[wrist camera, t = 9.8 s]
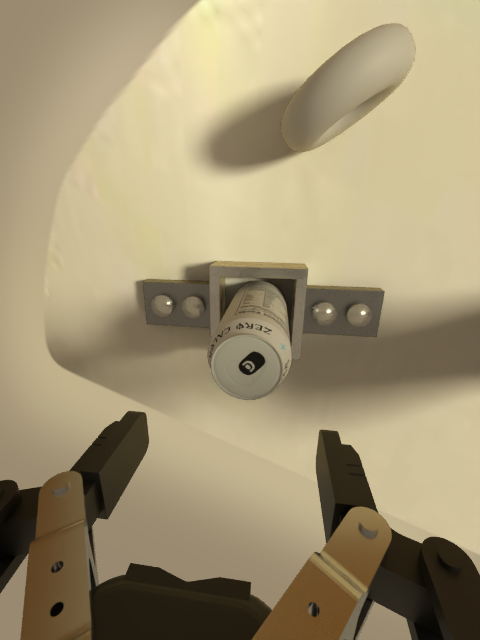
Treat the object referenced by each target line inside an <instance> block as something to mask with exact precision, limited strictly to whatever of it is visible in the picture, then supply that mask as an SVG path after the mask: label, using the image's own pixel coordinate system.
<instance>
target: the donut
mask: <svg viewBox="0 0 480 640" xmlns="http://www.w3.org/2000/svg"><path fill="white" fill-rule="evenodd" d="M415 52H416V47H415V43H414V39H413V36H412V34H411V33H410V31H409V30H408V28H407V27H405V26H403V25H402V24H386V25H381V26H378V27H376V28H374V29H372V30H370V31H368V32H366V33H364V34H362V35H360V36H359V37H357V38H356V39H354V40H353V41H351V42H350V43H348V44H347V45H346V46H344V47H343V48H341V49H340V50H339V51H338V52H337V53H335V54H334V55H333V56H332V57H331V58H329V59H328V60H327V61H326V62H325V63H324V64H322V65H321V66H320V67H319V68H318V69H317V70H316V71H315V72H314V73H313V74H312V75H311V76H310V77H309V78H308V79H307V80H306V82H305V83H304V84H303V85H302V86H301V87H300V89H299V90H298V91H297V92H296V93H295V95H294V96H293V98H292V100H291V101H290V103H289V104H288V106H287V108H286V109H285V112H284V115H283V118H282V123H281V134H282V137H283V139H284V141H285V142H286V144H287V145H288V146H289V147H290V148H291V149H293V150H294V151H297V152H305V151H310V150H313V149H315V148H317V147H319V146H321V145H323V144H324V143H326V142H328V141H329V140H331V139H333V138H334V137H336V136H337V135H339V134H340V133H342V132H343V131H345V130H346V129H348V128H349V127H351V126H352V125H353V124H355V123H356V122H357V121H359V120H360V119H361V118H363V117H364V116H365V115H367V114H368V113H369V112H370V111H372V110H373V109H374V108H375V107H377V106H378V105H379V104H380V103H381V102H382V101H383V100H385V99H386V98H387V97H388V96H389V95H390V94H391V93H392V92H394V90H395V89H396V88H397V87H398V86H399V85H400V84H401V83H402V82H403V80H404V79H405V77H406V76H407V74H408V73H409V71H410V70H411V68H412V65H413V62H414V60H415Z"/></svg>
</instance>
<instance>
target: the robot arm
mask: <svg viewBox="0 0 480 640" xmlns="http://www.w3.org/2000/svg"><path fill="white" fill-rule="evenodd" d="M148 444H149V436H148V426H147V418H146V414H145V413H144V412H135V411H128V412H127V413H126V414H125V415H124V417H123V418H122V419H121V420H120V421H115V422H114V423H112V424H110V425H109V426H108V427H106V428H105V429H104V430H103V431H102V432H101V434H100V435H99V436H98V438H97V439H96V440H95V441H94V442H93V443H92V445H91V446H90V447H89V448H88V449H87V450H86V452H85V453H84V454H83V455H82V456H81V458H80V459H79V460H78V461H77V462H76V464H75V465H74V466H73V467H72V468H71V469H70V471H67V472H62V473H59V474H57V475H55V476H54V477H52V478H50V479H49V480H48V481H47V482H46V483H45V484H44V485H43V486H42V487H36V488H30V489H24V490H19V488H18V485H17V483H16V482H15V481H12V480H3V481H0V593H1V592H2V590H3V589H4V587H5V586H6V584H7V583H8V582H9V580H10V579H11V577H12V576H13V574H14V573H15V572H16V570H17V569H18V567H19V566H20V564H21V563H22V561H23V560H24V559H25V557H26V556H27V554H28V553H29V556H28V567H27V576H26V586H25V597H24V608H23V618H22V630H21V639H20V640H357V639H358V637H359V635H360V633H361V630H362V628H363V626H364V624H365V622H366V620H367V617H368V615H369V613H370V611H371V608H372V606H373V604H374V602H376V603H378V604H380V605H382V606H384V607H386V608H388V609H390V610H392V611H394V612H395V613H397V614H399V615H401V616H403V617H405V618H406V619H407V622H408V627H409V630H410V634H411V637H412V640H480V575H479V573H478V571H477V569H476V567H475V565H474V563H473V562H472V560H471V559H470V558H469V556H468V555H467V554H466V553H465V552H464V551H463V550H461V548H459V547H458V546H457V545H455V544H454V543H452V542H450V541H448V540H446V539H444V538H440V537H429V538H427V539H425V540H424V541H423V543H419V542H417V541H414V540H412V539H410V538H407V537H405V536H403V535H401V534H399V533H397V532H395V531H394V530H393V529H391V528H390V526H389V524H388V523H387V521H386V520H385V519H384V518H383V517H382V516H381V515H380V514H379V513H378V511H377V508H376V505H375V502H374V499H373V496H372V493H371V490H370V487H369V484H368V481H367V478H366V477H365V472H364V469H363V468H362V463H361V460H360V457H359V455H358V453H357V452H356V451H355V450H354V449H353V447H352V446H351V445H345V444H341V441H340V437H339V434H338V432H337V431H329V430H320V431H319V438H318V446H317V454H316V474H317V481H318V488H319V495H320V502H321V509H322V516H323V523H324V530H325V537H326V545H325V547H324V548H323V550H322V551H321V552H320V553H317V552H314V553H313V554H312V555H311V556H310V558H309V559H308V560H307V562H306V563H305V565H304V566H303V567H302V569H301V570H300V572H299V573H298V574H297V576H296V577H295V579H294V580H293V582H292V583H291V584H290V586H289V587H288V589H287V590H286V592H285V593H284V594H283V596H282V597H281V599H280V600H279V601H278V603H277V604H276V606H275V607H274V609H273V610H271V608H270V607H268V606H267V605H266V604H265V603H264V602H263V601H261V600H260V599H259V598H257V597H255V596H253V595H251V594H250V590H251V582H246V581H240V580H234V579H227V578H221V577H219V578H212V579H205V580H198V581H191V582H186V581H184V580H182V579H180V578H178V577H176V576H174V575H172V574H170V573H168V572H166V571H164V570H163V569H161V568H158V567H152V566H146V565H139V564H133V563H131V564H130V566H129V568H128V570H127V572H126V575H121V576H118V577H115V578H112V579H110V580H107V581H105V582H104V583H101V584H100V585H99V580H98V574H97V564H96V554H95V544H94V534H93V527H92V525H93V524H94V522H95V521H96V519H97V518H101V519H108V518H109V516H110V514H111V513H112V511H113V509H114V507H115V506H116V504H117V502H118V501H119V499H120V497H121V495H122V493H123V492H124V490H125V488H126V487H127V485H128V483H129V481H130V480H131V478H132V476H133V474H134V473H135V471H136V469H137V467H138V466H139V464H140V462H141V461H142V459H143V457H144V455H145V453H146V451H147V448H148Z"/></svg>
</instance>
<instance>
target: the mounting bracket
mask: <svg viewBox="0 0 480 640" xmlns="http://www.w3.org/2000/svg"><path fill="white" fill-rule="evenodd" d="M307 276H308V268H307V266H306V265H305V264H295V263H263V262H231V261H216V262H214V263H213V264H211V265H210V266H209V277H210V281H186V280H161V279H147V280H145V281H143V289H144V300H145V310H146V320H147V324H154V325H172V326H190V327H207V328H211V338H212V336H213V334H214V332H215V330H216V329H217V327H218V325H219V323H220V321H221V320H222V318H223V316H224V314H225V277H252V278H279V279H294V289H293V303H292V316H291V329H290V345H291V356H292V359H295V360H300V354H301V343H302V333H314V334H331V335H349V336H367V337H377V331H378V326H379V320H380V314H381V309H382V303H383V298H384V292H385V291H383V290H382V289H380V288H366V287H340V286H315V285H307Z"/></svg>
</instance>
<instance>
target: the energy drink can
mask: <svg viewBox="0 0 480 640" xmlns="http://www.w3.org/2000/svg"><path fill="white" fill-rule="evenodd" d="M291 360H292V356H291V345H290V335H289V325H288V315H287V305H286V300H285V297H284V296H283V294H282V292H281V291H280V290H279V289H278V288H277V287H276V286H274V285H272V284H271V283H268V282H264V281H254V282H250V283H247V284H246V285H244V286H242V287H241V288H240V289H239V290H238V291H237V293H236V294H235V296H234V298H233V300H232V302H231V303H230V305H229V307H228V309H227V311H226V312H225V314H224V316H223V318H222V320H221V321H220V323H219V325H218V327H217V329H216V330H215V332H214V334H213V336H212V338H211V340H210V342H209V346H208V362H209V365H210V368H211V372H212V375H213V378H214V380H215V382H216V383H217V385H218V386H219V387H220V388H221V389H222V390H223V391H224V392H226V393H227V394H229V395H231V396H233V397H235V398H238V399H243V400H255V399H260V398H263V397H265V396H267V395H269V394H270V393H272V392H273V391H274V390H275V389H276V388H277V387H278V385H279V384H280V383H281V382H282V381H283V380H284V378H285V377H286V375H287V374H288V372H289V369H290V366H291Z"/></svg>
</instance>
